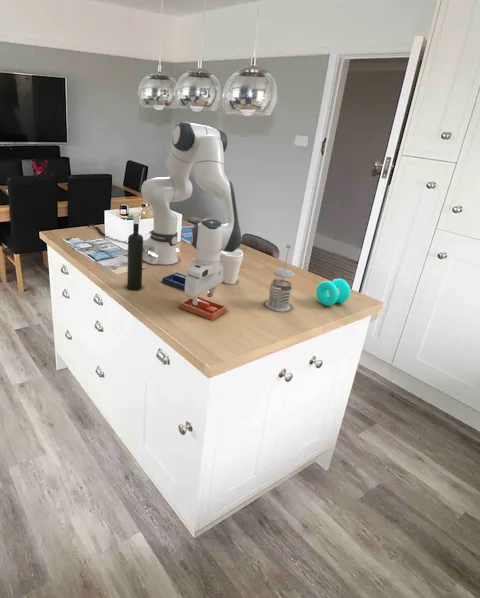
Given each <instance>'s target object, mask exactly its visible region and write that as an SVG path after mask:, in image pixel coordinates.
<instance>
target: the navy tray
mask: <svg viewBox="0 0 480 598" xmlns="http://www.w3.org/2000/svg"><path fill="white" fill-rule="evenodd" d="M174 274H178V275H181V276H184V277H186V276H187V274H183V273H180V272H172V274H169V275H166V276H164V277H162V283H164V284H166V285H169V286H172V287H175V288H177V289H181V290H183V291H185V284H183V283H180V282H177V281H174V280H173V275H174Z"/></svg>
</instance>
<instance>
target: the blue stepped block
mask: <svg viewBox="0 0 480 598" xmlns="http://www.w3.org/2000/svg"><path fill="white" fill-rule="evenodd" d="M173 280H174V281H177V282H180V283H183V284H185V280H186V277H184V276H181V275H178V274H174V275H173Z"/></svg>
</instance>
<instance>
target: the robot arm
mask: <svg viewBox="0 0 480 598" xmlns="http://www.w3.org/2000/svg"><path fill="white" fill-rule="evenodd" d="M171 142H172V146H171V148H170V150H169V152H168V154H167V155H168V156H167V157H166V159H165V165H164V166H165V169H166V171H167V172H168V174H169V175H168V176H165V177H153V178H149V179H146V180H144V181H143V183H142V185H141V187H140V194H141V197H142V199H143V200H144V201H145V202H146V203H147V204H148V205H149V207H150V208H151V211H152V215H153V217H152V218H153V228H152V230H150V231H149V232H148V235H150V236H149V237H148V238H147V239H143V259H142V262H146V263H147V264H149V265H162V266H163V265H167V266H168V265H173V264H177V263H178V262H179V257H178V252H180V250H179V249H178V248H177V243H178V219H179V218H178V215H177V213H176V212H175V211H173V210H172V209H171V208H170V207H171V206H170V203H175V202H176V203H177V202H183V201H185V200H187V199H190V197H192V194H193V189H194V188H193V184H192V182H191V180H190V179H189V177H190V172H191V170H192V168H193V177H194V181H195V183H196V185H197V186H198V187H199V188H200V189H202V190H203V191H204V192H206V193H209V194H211V195H213V196H215V197H217V198H218V199H219V200H220V201H221V202H222V203H223V206H224V207H223V208H224V215H225V223H223V224H222V222H221V221H220V220H218V219H216V218H204V219H202V220H201V221H200V222H199V223H196V224H195V225H194V226H193V227H192V228H191V237H190V245H191V246H192V247H193V248H194V249H195V250H196V253H195V256H194V260H193V261H192V262H191V263H190V264H189V265H188V266H187V267H186V269H185V274H186V280H185V290H184V294H185V295H186V296H187V297H189V298H191V297H192V299H193V304H194V305H198V304H199V300H198V298H197V297H198V296H199V295H201V294H203V293H205V292H207V294H206V296H207V298H212V297H214V293H215V291H216V288H217V286H219V285H221V284H222V283H223V282H222V281H223V267H222V262H221V252H222V251H226V252H233V251H235V250H238V249H239V248H240V247H241V245H242V232H241V227H240V222H239V216H238V215H239V214H238V210H237V209H238V207H237V201H236V194H235V189H234V185H233V183H232V181H231V180H230V179H228V177H227V175H226V171H225V152H226V150H227V147H228V144H229V143H228V137H227V134H226V133H225V132H224V131H223V130H221V129H218V128H214V127H211V126H209V125H204V124H198V123H192V122H189V121H180V122H178V123H177V124H176V125H175V126H174V128H173V132H172V137H171ZM91 226H92V227H94V228H95V229H97V230H98V232H99V233H100V234H101V235H102V236H104V237H106V236H105V235H106V233H104V232H103V231H101V229H100V228H99V227H98V226H96V225H95V224H93V223H88V224H87V226H86V227H91ZM95 226H96V227H95Z"/></svg>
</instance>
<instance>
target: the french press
mask: <svg viewBox="0 0 480 598" xmlns="http://www.w3.org/2000/svg"><path fill="white" fill-rule="evenodd" d="M285 247H286V248H287V252H286V253H287V254H286V258H285V263H284V267H280V268H279V267H278V268H276V269H274V270H273V271H272V273H273V275H275V276H276V277H279V278H281V279H279V278H278V279H277V278H275V277H274V278H273V279H272V281H271V283H270V286H269V296H268V301H266V302H265V306H266V307H267V308H268V309H269V310H272V311H275V312H276V311H277V312H286V311H287V312H288V311H290V310H291V306H290V304H289V303H290V299H291V294H292V290H293V289H292V282H290V281H289V280H285V279H290V278H293V277H294V276H296V274H295V272H293V271H292V270H290V269H289V268H286V266H287V261H288V255H289V249H292V245H291V244H290V243H289V244H286V246H285Z"/></svg>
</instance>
